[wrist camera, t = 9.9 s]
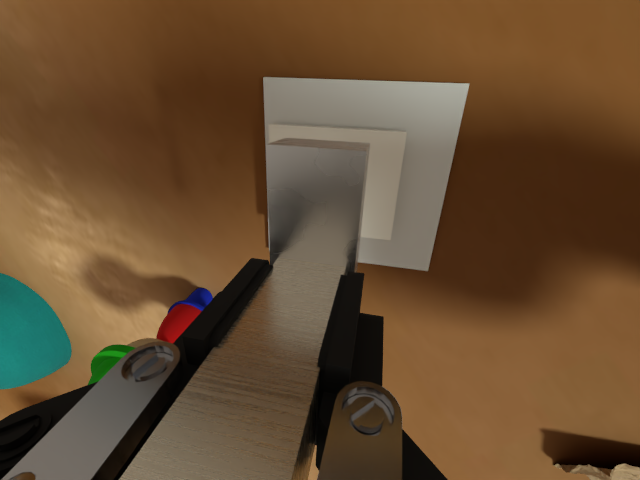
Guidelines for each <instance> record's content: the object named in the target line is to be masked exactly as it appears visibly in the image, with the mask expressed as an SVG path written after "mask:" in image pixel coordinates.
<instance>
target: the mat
mask: <svg viewBox="0 0 640 480" xmlns="http://www.w3.org/2000/svg"><path fill="white" fill-rule="evenodd" d="M263 87H264V116H265V145H266V144H268V143H269V125H268V124H274V123H277V124H294V125H311V126H329V127H346V128H363V129H381V130H398V131H406V132H407V136H406V142H405V149H404V155H403V162H402V168H401V175H400V182H399V188H398V195H397V201H396V208H395V214H394V221H393V227H392V234H391V240H383V239H374V238H366V237H360V246H359V256H358V262H361V263H369V264H376V265H384V266H392V267H400V268H407V269H415V270H423V271H428V269H429V264H430V259H431V255H432V250H433V246H434V241H435V237H436V232H437V228H438V223H439V219H440V214H441V210H442V205H443V201H444V196H445V192H446V187H447V183H448V178H449V174H450V169H451V165H452V160H453V156H454V151H455V147H456V142H457V137H458V133H459V128H460V124H461V119H462V115H463V110H464V106H465V101H466V97H467V92H468V88H469V84H466V83H434V82H403V81H372V80H340V79H309V78H277V77H263ZM266 174H267V161H266ZM267 202H268V189H267ZM268 231H269V217H268ZM269 251H270V245H269Z"/></svg>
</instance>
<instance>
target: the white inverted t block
mask: <svg viewBox="0 0 640 480" xmlns="http://www.w3.org/2000/svg"><path fill="white" fill-rule="evenodd" d="M369 151H370V143H361V142H346V141H330V140H315V139H299V138H284V139H280V140H277V141H274V142H271V143H268V144H266V161H267V189H268V217H269V245H270V265H273V268H272V270H271V271H270V273H269V274H268V275H267V277H266V278H265V280H264V281H263V283H262V284H261V285H260V287H259V288H258V290H257V291H256V293H255V294H254V295H253V297H252V298H251V300H250V301H249V303H248V304H247V305H246V307H245V308H244V310H243V311H242V312H241V314H240V315H239V317H238V318H237V320H236V321H235V322H234V324H233V325H232V327H231V328H230V330H229V331H228V332H227V334H226V335H225V337H224V338H223V340H222V341H221V342H220V344H219V345H218V347H214V348H213V349H212V350H211V352H210V353H209V355H208V356H207V357H206V359H205V360H204V362H203V363H202V364H201V366H200V367H199V369H198V370H197V371H196V373H195V374H194V376H193V377H192V378H191V380H190V381H189V383H188V384H187V385H186V387H185V388H184V390H183V391H182V392H181V394H180V395H179V396H178V398H177V399H176V401H175V402H174V403H173V405H172V406H171V408H170V409H169V410H168V412H167V413H166V415H165V416H164V417H163V419H162V420H161V422H160V423H159V424H158V426H157V427H156V429H155V430H154V431H153V433H152V434H151V436H150V437H149V438H148V440H147V441H146V443H145V444H144V445H143V447H142V448H141V450H140V451H139V452H138V454H137V455H136V456H135V458H134V459H133V461H132V462H131V463H130V465H129V466H128V468H127V469H126V470H125V472H124V473H123V475H122V476H121V477H120V479H119V480H308V475H309V471H310V466H311V461H312V457H313V452H314V447H315V443H316V428H317V409H318V390H319V372H320V367H317V363H318V357H319V353H320V349H321V345H322V342H323V338H324V334H325V331H326V327H327V323H328V320H329V316H330V313H331V309H332V305H333V302H334V298H335V295H336V291H337V287H338V284H339V280H340V276H341V275H347V273H348V271H350V272H357V266H358V256H359V246H360V237H361V227H362V218H363V208H364V199H365V189H366V180H367V170H368V160H369Z"/></svg>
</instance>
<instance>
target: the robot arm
mask: <svg viewBox="0 0 640 480" xmlns="http://www.w3.org/2000/svg"><path fill="white" fill-rule="evenodd" d="M272 268H273V265H269V261H268V260H262V259H255V258H251V259H250V260H249V261H248V263H247V264H246V265H245V266H244V267H243V268H242V269H241V270H240V272H239V273H238V274H237V275H236V276H235V277H234V278H233V279H232V281H231V282H230V283H229V284H228V285H227V286H226V287H225V288H224V290H223V291H221V292H219V293H218V294H217V295H216V296H215V297H214V298H213V299H212V301H211V302H210V303H209V304H208V305H207V306H206V307H205V308H204V309H203V311H202V312H201V313H200V314H199V315H198V316H197V317H196V318H195V319H194V321H193V322H192V323H191V324H190V325H189V326H188V327H187V328H186V329H185V331H184V332H183V333H182V334H181V335H180V336H179V337H178V338H177V339H176V341H175V342H174V343H173V344H172V343H169V342H161V341H157V342H152V343H147V344H144V345H142V346H139V347H137V348H135V349H133V350H132V351H130V352H129V353H127V354H126V355H125V356H124V357H123V358H121V359H120V360H119V361H118V362H117V363H116V364H115V365H114V366H113V367H112V368H111V369H110V370H109V371H108V373H107V374H106V375H105V376H104V377H103V378H102V379H101V380H100V381H98V382H95V383H93V384H90V385H87V386H84V387H82V388H79V389H76V390H73V391H71V392H68V393H65V394H62V395H60V396H57V397H54V398H51V399H49V400H46V401H43V402H40V403H38V404H35V405H32V406H29V407H27V408H24V409H22V410H20V411H17V412H15V413H13V414H11V415H9V416H8V417H6V418H4V419H3V420H1V421H0V480H119V479H120V477H121V476H122V475H123V473H124V472H125V470H126V469H127V468H128V466H129V465H130V463H131V462H132V461H133V459H134V458H135V456H136V455H137V454H138V452H139V451H140V450H141V448H142V447H143V445H144V444H145V443H146V441H147V440H148V438H149V437H150V436H151V434H152V433H153V431H154V430H155V429H156V427H157V426H158V424H159V423H160V422H161V420H162V419H163V417H164V416H165V415H166V413H167V412H168V410H169V409H170V408H171V406H172V405H173V403H174V402H175V401H176V399H177V398H178V396H179V395H180V394H181V392H182V391H183V390H184V388H185V387H186V385H187V384H188V383H189V381H190V380H191V378H192V377H193V376H194V374H195V373H196V371H197V370H198V369H199V367H200V366H201V364H202V363H203V362H204V360H205V359H206V357H207V356H208V355H209V353H210V352H211V350H212V349H213V348H214V347H218V345H219V344H220V342H221V341H222V340H223V338H224V337H225V335H226V334H227V332H228V331H229V330H230V328H231V327H232V325H233V324H234V322H235V321H236V320H237V318H238V317H239V315H240V314H241V312H242V311H243V310H244V308H245V307H246V305H247V304H248V303H249V301H250V300H251V298H252V297H253V295H254V294H255V293H256V291H257V290H258V288H259V287H260V285H261V284H262V283H263V281H264V280H265V278H266V277H267V275H268V274H269V273H270V271H271V270H272ZM363 280H364V273H357V272H350V271H348V273H347V275H341V276H340V280H339V284H338V287H337V291H336V295H335V298H334V302H333V305H332V309H331V313H330V316H329V320H328V323H327V327H326V331H325V334H324V338H323V342H322V345H321V349H320V353H319V357H318V363H317V367H320V372H319V390H318V409H317V428H316V443H315V445H317V451H316V466H317V468H318V470H319V474H318V478H317V480H447V478H446V477H445V476H444V475H443V474H442V473H441V472H440V471H439V470H438V468H437V467H436V466H435V465H434V464H433V463H432V462H431V461H430V459H429V458H428V457H427V456H426V455H425V454H424V453H423V452H422V451H421V449H420V448H419V447H418V446H417V445H416V444H415V443H414V442H413V440H412V439H411V438H410V437H409V436H408V435H407V434H406V433H405V432H404V430H403V429H402V414H401V408H400V406H399V404H398V402H397V400H396V399H395V397H394V396H393V395H392V394H391V393H390V392H389V391H388V390H386V389H385V388H383V387H382V369H383V317H382V316H376V315H370V314H364V313H360V306H361V297H362V289H363Z"/></svg>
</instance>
